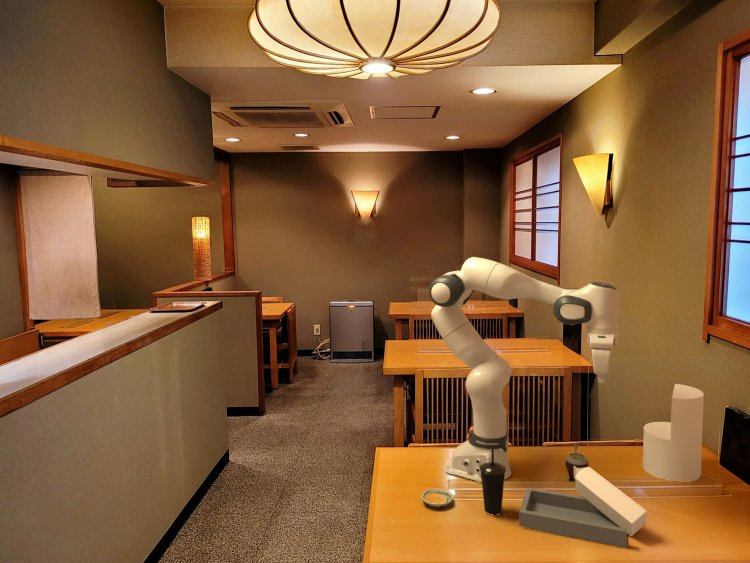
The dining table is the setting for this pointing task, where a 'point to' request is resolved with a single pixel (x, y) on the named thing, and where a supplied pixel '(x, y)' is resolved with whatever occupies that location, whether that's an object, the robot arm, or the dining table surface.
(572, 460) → the mate gourd
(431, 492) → the saucer
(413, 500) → the dining table surface
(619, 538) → the trough
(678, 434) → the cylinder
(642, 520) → the milk
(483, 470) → the drinking cup
